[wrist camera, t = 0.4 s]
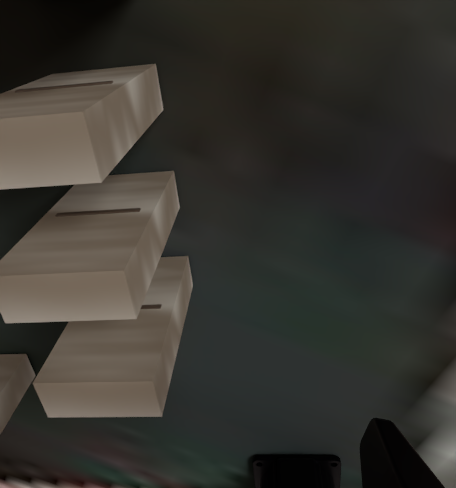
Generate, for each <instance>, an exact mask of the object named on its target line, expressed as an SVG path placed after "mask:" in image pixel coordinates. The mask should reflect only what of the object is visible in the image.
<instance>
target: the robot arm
mask: <svg viewBox="0 0 456 488" xmlns="http://www.w3.org/2000/svg"><path fill="white" fill-rule="evenodd" d="M360 460H361V473H362V486H363V488H445V487H444V486H443V485H442V484H441V482H440V481H439V480H438V479H437V477H436V476H435V475H434V473H433V472H432V471H431V470H430V468H429V467H428V466H427V465H426V463H425V462H424V461H423V460H422V458H421V457H420V456H419V455H418V453H417V452H416V451H415V450H414V448H413V447H412V446H411V444H410V443H409V442H408V441H407V439H406V438H405V437H404V436H403V434H402V433H401V432H400V431H399V429H398V428H397V427H396V426H395V424H394V423H393V422H391V421H390V420H385V419H379V418H373V419H372V420H371V421H370V423H369V425H368V427H367V429H366V431H365V433H364V435H363V437H362V440H361V443H360ZM253 471H254V480H255V488H340V477H341V461H340V458H339V457H338V456H308V455H258V456H255V457H254V458H253Z"/></svg>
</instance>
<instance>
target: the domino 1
mask: <svg viewBox="0 0 456 488" xmlns="http://www.w3.org/2000/svg"><path fill="white" fill-rule="evenodd" d="M35 376H36V375H35V373H34V371H33V368H32V366H31V364H30V361H29V359H28V357H27V355H26V354H0V434H1V433H2V431H3V429H4V428H5V426H6V424H7V423H8V421H9V419H10V418H11V416H12V414H13V413H14V411H15V409H16V407H17V406H18V404H19V402H20V401H21V399H22V397H23V396H24V394H25V392H26V391H27V389H28V387H29V386H30V384H31V382H32V381H33V379H34V377H35Z"/></svg>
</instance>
